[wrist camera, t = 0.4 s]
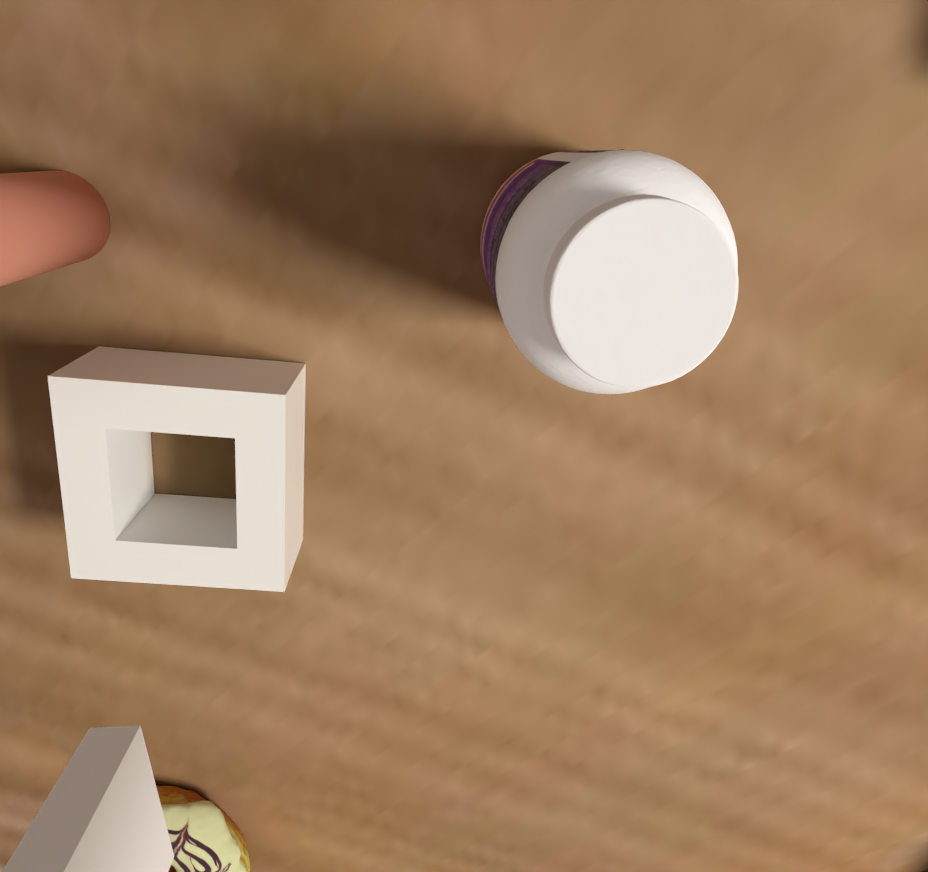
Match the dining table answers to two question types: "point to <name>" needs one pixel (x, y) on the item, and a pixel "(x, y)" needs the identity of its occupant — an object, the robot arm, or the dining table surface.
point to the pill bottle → (610, 268)
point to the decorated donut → (201, 834)
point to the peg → (48, 222)
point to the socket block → (131, 468)
